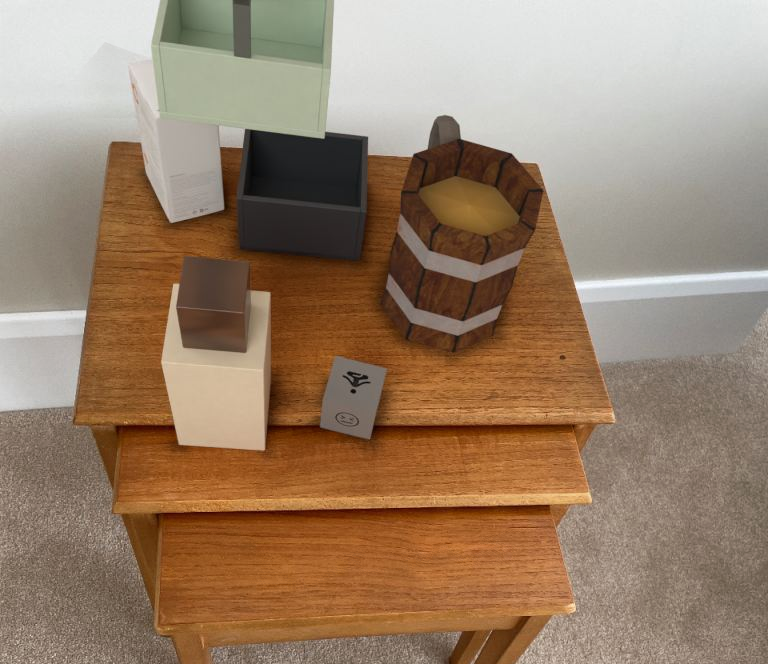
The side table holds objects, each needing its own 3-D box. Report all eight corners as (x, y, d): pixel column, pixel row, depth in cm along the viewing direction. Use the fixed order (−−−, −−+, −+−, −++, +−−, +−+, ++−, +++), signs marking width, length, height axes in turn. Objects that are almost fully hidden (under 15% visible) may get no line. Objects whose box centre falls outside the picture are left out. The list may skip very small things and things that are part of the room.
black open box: (239, 249, 84) (236, 198, 77) (247, 175, 88) (245, 122, 82) (359, 261, 85) (366, 212, 79) (361, 188, 90) (368, 136, 84)
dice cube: (380, 398, 78) (387, 368, 74) (370, 439, 76) (376, 411, 71) (331, 385, 78) (335, 355, 73) (319, 427, 76) (322, 398, 71)
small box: (226, 211, 86) (218, 105, 74) (169, 225, 84) (153, 118, 72) (199, 160, 89) (189, 51, 77) (144, 172, 87) (125, 62, 75)
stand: (178, 445, 73) (160, 362, 61) (188, 374, 76) (173, 282, 65) (265, 451, 74) (263, 370, 62) (270, 380, 77) (270, 291, 66)
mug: (514, 349, 83) (561, 246, 69) (390, 355, 80) (413, 250, 67) (477, 211, 91) (512, 94, 77) (363, 213, 88) (379, 93, 75)
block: (182, 348, 62) (175, 306, 58) (189, 298, 64) (183, 255, 60) (246, 353, 63) (244, 312, 58) (251, 304, 65) (249, 261, 60)
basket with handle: (159, 118, 61) (141, -28, 52) (175, 29, 66) (162, -120, 56) (324, 139, 63) (337, 2, 53) (328, 51, 68) (341, -90, 58)
